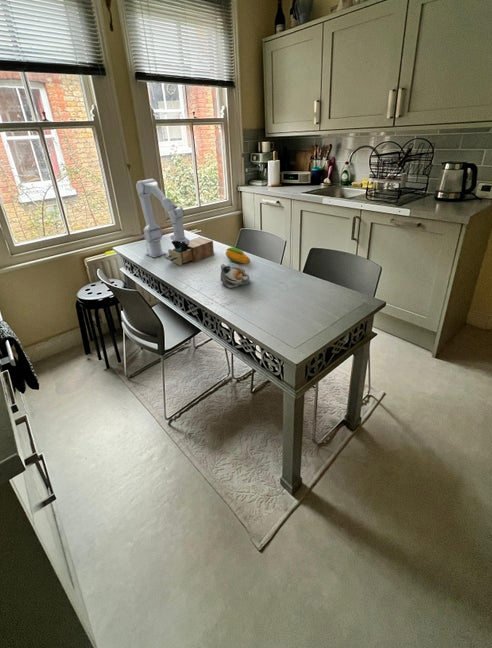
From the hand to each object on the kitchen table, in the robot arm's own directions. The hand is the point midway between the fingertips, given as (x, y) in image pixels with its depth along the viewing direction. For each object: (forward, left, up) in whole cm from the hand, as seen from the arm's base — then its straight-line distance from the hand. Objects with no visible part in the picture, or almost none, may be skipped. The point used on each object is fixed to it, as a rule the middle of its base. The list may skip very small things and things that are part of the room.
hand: (181, 253), depth 176 cm
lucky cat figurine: (+43, -2, -5) cm, 44 cm away
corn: (+25, +19, -5) cm, 33 cm away
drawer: (0, 0, -4) cm, 4 cm away
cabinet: (0, +11, -5) cm, 13 cm away
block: (0, 0, -1) cm, 1 cm away
